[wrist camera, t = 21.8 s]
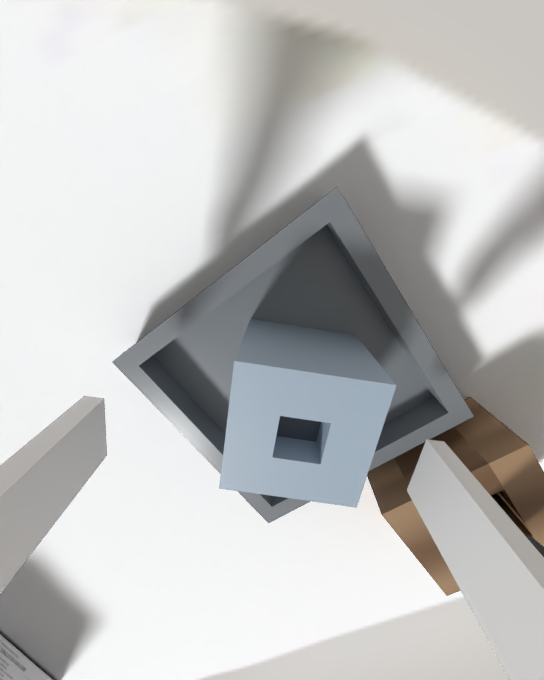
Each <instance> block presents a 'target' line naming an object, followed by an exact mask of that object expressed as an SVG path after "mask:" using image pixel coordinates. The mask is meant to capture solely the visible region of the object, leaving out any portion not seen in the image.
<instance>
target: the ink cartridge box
mask: <svg viewBox="0 0 544 680" xmlns="http://www.w3.org/2000/svg"><path fill="white" fill-rule="evenodd" d="M0 680H53V679H51V678H50V677H49V676H48V675H47V674H46V673H44V672H43V671H42V670H41V669H40V668H39V667H37V666H36V665H35V664H34V663H33V662H32V661H30V660H29V659H28V658H27V657H26V656H25V655H24V654H22V653H21V652H20V651H19V650H18V649H17V648H16V647H14V646H13V645H12V644H11V643H10V642H8V641H7V640H6V639H5V638H4V637H3V636H2V635H1V634H0Z"/></svg>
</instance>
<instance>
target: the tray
mask: <svg viewBox="0 0 544 680" xmlns="http://www.w3.org/2000/svg"><path fill="white" fill-rule="evenodd" d="M250 319H255V320H261V321H268V322H274V323H281V324H287V325H294V326H300V327H307V328H313V329H320V330H326V331H333V332H339V333H346V334H352V335H356V336H357V337H358V338H359V340H360V341H361V342H362V343H363V345H364V346H365V347H366V348H367V349H368V351H369V352H370V353H371V354H372V356H373V357H374V358H375V359H376V360H377V362H378V363H379V364H380V365H381V367H382V368H383V369H384V370H385V372H386V373H387V374H388V375H389V376H390V378H391V379H392V380H393V381H394V383H395V384H396V385H397V386H396V389H395V392H394V395H393V398H392V401H391V404H390V407H389V410H388V413H387V416H386V419H385V422H384V425H383V428H382V431H381V434H380V437H379V440H378V444H377V447H376V450H375V453H374V456H373V459H372V462H371V465H370V468H369V471H370V470H372V469H374V468H376V467H378V466H380V465H381V464H383V463H385V462H387V461H389V460H391V459H393V458H395V457H397V456H399V455H401V454H403V453H405V452H406V451H408V450H410V449H412V448H414V447H416V446H418V445H420V444H422V443H424V442H426V440H427V439H428V440H430V439H431V438H433V437H435V436H437V435H439V434H441V433H443V432H445V431H447V430H449V429H451V428H453V427H455V426H456V425H458V424H460V423H462V422H464V421H466V420H468V419H470V418H472V417H474V416H473V414H472V413H471V411H470V409H469V408H468V406H467V404H466V402H465V401H464V399H463V397H462V396H461V394H460V392H459V391H458V389H457V387H456V386H455V384H454V382H453V381H452V379H451V377H450V376H449V374H448V372H447V370H446V369H445V367H444V365H443V364H442V362H441V360H440V359H439V357H438V355H437V354H436V352H435V350H434V349H433V347H432V345H431V344H430V342H429V340H428V339H427V337H426V335H425V333H424V332H423V330H422V328H421V327H420V325H419V323H418V322H417V320H416V318H415V317H414V315H413V313H412V312H411V310H410V308H409V307H408V305H407V303H406V302H405V300H404V298H403V296H402V295H401V293H400V291H399V290H398V288H397V286H396V285H395V283H394V281H393V280H392V278H391V276H390V275H389V273H388V271H387V270H386V268H385V266H384V265H383V263H382V261H381V259H380V258H379V256H378V254H377V253H376V251H375V249H374V248H373V246H372V244H371V243H370V241H369V239H368V238H367V236H366V234H365V233H364V231H363V229H362V228H361V226H360V224H359V222H358V221H357V219H356V217H355V216H354V214H353V212H352V211H351V209H350V207H349V206H348V204H347V202H346V201H345V199H344V197H343V196H342V194H341V192H340V190H339V189H338V187H336V188H335V189H334V190H332V191H331V192H330V193H329V194H327V195H326V196H325V197H323V198H322V199H321V200H320V201H318V202H317V203H316V204H314V205H313V206H312V207H311V208H309V209H308V210H307V211H305V212H304V213H303V214H302V215H300V216H299V217H298V218H296V219H295V220H294V221H293V222H291V223H290V224H289V225H287V226H286V227H285V228H284V229H282V230H281V231H280V232H278V233H277V234H276V235H275V236H273V237H272V238H271V239H269V240H268V241H267V242H266V243H264V244H263V245H262V246H260V247H259V248H258V249H257V250H255V251H254V252H253V253H251V254H250V255H249V256H248V257H246V258H245V259H244V260H242V261H241V262H240V263H239V264H237V265H236V266H235V267H233V268H232V269H231V270H230V271H228V272H227V273H226V274H224V275H223V276H222V277H221V278H219V279H218V280H217V281H215V282H214V283H213V284H212V285H210V286H209V287H208V288H206V289H205V290H204V291H203V292H201V293H200V294H199V295H197V296H196V297H195V298H194V299H192V300H191V301H190V302H188V303H187V304H186V305H185V306H183V307H182V308H181V309H179V310H178V311H177V312H176V313H174V314H173V315H172V316H170V317H169V318H168V319H167V320H165V321H164V322H163V323H161V324H160V325H159V326H158V327H156V328H155V329H154V330H152V331H151V332H150V333H149V334H147V335H146V336H145V337H143V338H142V339H141V340H140V341H138V342H137V343H136V344H134V345H133V346H132V347H131V348H129V349H128V350H127V351H125V352H124V353H123V354H122V355H120V356H119V357H118V358H116V359H115V360H114V361H113V363H114V364H115V365H116V366H117V368H118V369H119V370H120V371H121V372H122V373H123V374H124V375H125V376H126V377H127V378H128V379H129V380H130V381H131V382H132V383H133V384H134V385H135V386H136V387H137V388H138V389H139V390H140V391H141V392H142V393H143V394H144V395H145V396H146V397H147V398H148V399H149V400H150V402H151V403H152V404H153V405H154V406H155V407H156V408H157V409H158V410H159V411H160V412H161V413H162V414H163V415H164V416H165V417H166V418H167V419H168V420H169V421H170V422H171V423H172V424H173V425H174V426H175V427H176V428H177V429H178V430H179V431H180V432H181V433H182V435H183V436H184V437H185V438H186V439H187V440H188V441H189V442H190V443H191V444H192V445H193V446H194V447H195V448H196V449H197V450H198V451H199V452H200V453H201V454H202V455H203V456H204V457H205V458H206V459H207V460H208V461H209V462H210V463H211V464H212V465H213V466H214V468H215V469H216V470H217V471H218V472H219V473H220V474H221V469H222V460H223V452H224V443H225V435H226V427H227V418H228V410H229V401H230V393H231V384H232V376H233V367H234V360H235V358H236V355H237V352H238V350H239V347H240V345H241V342H242V339H243V337H244V334H245V332H246V329H247V326H248V324H249V321H250ZM238 492H239V493H240V494H241V495H242V496H243V497H244V498H245V499H246V501H247V502H248V503H249V504H250V505H251V506H252V507H253V508H254V509H255V510H256V511H257V512H258V513H259V514H260V515H261V516H262V517H263V518H264V519H265V520H266V521H267V522H268V523H270V522H272V521H274V520H276V519H278V518H279V517H281V516H283V515H285V514H287V513H289V512H291V511H293V510H295V509H297V508H299V507H301V506H303V505H304V504H306V503H308V502H310V501H306V500H299V499H292V498H285V497H278V496H270V495H263V494H256V493H249V492H242V491H238Z"/></svg>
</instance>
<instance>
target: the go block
mask: <svg viewBox="0 0 544 680" xmlns="http://www.w3.org/2000/svg"><path fill="white" fill-rule="evenodd" d="M464 401H465V402H466V404H467V406H468V408H469V409H470V411H471V413H472V414H473V416H474V417H472V418H470V419H468V420H466V421H464V422H462V423H460V424H458V425H456V426H455V427H453V428H451V429H449V430H447V431H445V432H443V433H441V434H439V435H437V436H435V437H433V438H431V439H430V440H436V441H444V442H445V443H446V444H447V445H448V446H449V448H450V449H451V450H452V451H453V452H454V453H455V455H456V456H457V457H458V458H459V459H460V460H461V462H462V463H463V464H464V465H465V466H466V467H467V469H468V470H469V471H470V472H471V473H472V474H473V476H474V477H475V478H476V479H477V480H478V481H479V483H480V484H481V485H482V486H483V487H484V488H485V490H486V491H487V492H488V493H489V494H490V495H492V497H493V498H494V499H495V500H496V502H497V503H498V504H499V505H500V506H501V508H502V509H503V510H504V511H505V513H506V514H507V515H508V516H509V518H510V519H511V520H512V521H513V522H514V523H515V525H516V526H517V527H518V528H519V529H520V530H521V532H522V533H523V534H524V535H530V536H531V537H533V538H534V539H535V540H536V541H537V542H539V543H540V544H541V545H542V546H543V547H544V472H543V470H542V468H541V466H540V464H539V463H538V461H537V459H536V457H535V455H534V454H533V452H532V450H531V448H530V446H529V444H527V443H526V442H525V441H524V440H522V439H521V438H520V437H519V436H518V435H516V434H515V433H514V432H513V431H511V430H510V429H509V428H508V427H506V426H505V425H504V424H503V423H502V422H500V421H499V420H498V419H497V418H495V417H494V416H493V415H492V414H491V413H489V412H488V411H487V410H486V409H484V408H483V407H482V406H481V405H479V404H478V403H477V402H476V401H475V400H473V399H472V398H471V397H469V398H468V399H466V400H464ZM424 445H425V442H424V443H422V444H420V445H418V446H416V447H414V448H412V449H410V450H408V451H406V452H405V453H403V454H401V455H399V456H397V457H395V458H393V459H391V460H389V461H387V462H385V463H383V464H381V465H380V466H378V467H376V468H374V469H372V470H370V471H368V474H367V476H368V479H369V482H370V484H371V487H372V490H373V492H374V495H375V498H376V500H377V503H378V506H379V508H380V511H381V514H382V516H383V517H384V518H385V519H386V521H387V522H388V523H389V524H390V525H391V527H392V528H393V529H394V530H395V532H396V533H397V534H398V535H399V537H400V538H401V539H402V540H403V542H404V543H405V544H406V545H407V547H408V548H409V549H410V550H411V552H412V553H413V554H414V555H415V557H416V558H417V559H418V560H419V562H420V563H421V564H422V565H423V567H424V568H425V569H426V570H427V572H428V573H429V574H430V575H431V577H432V578H433V579H434V580H435V582H436V583H437V584H438V585H439V587H440V588H441V589H442V590H443V592H444V593H445V594H446V595H447V596H448V595H450V594H453V593H455V592H458V591H461V590H460V588H459V586H458V584H457V582H456V581H455V579H454V577H453V575H452V573H451V571H450V570H449V568H448V566H447V564H446V562H445V560H444V558H443V557H442V555H441V553H440V551H439V549H438V547H437V545H436V544H435V542H434V540H433V538H432V536H431V534H430V533H429V531H428V529H427V527H426V525H425V523H424V521H423V520H422V518H421V516H420V514H419V512H418V510H417V508H416V507H415V505H414V503H413V501H412V499H411V497H410V495H409V494H408V492H407V488H408V486H409V483H410V481H411V478H412V475H413V473H414V470H415V468H416V465H417V463H418V460H419V457H420V455H421V452H422V450H423V447H424Z"/></svg>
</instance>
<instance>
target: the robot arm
mask: <svg viewBox="0 0 544 680" xmlns="http://www.w3.org/2000/svg"><path fill="white" fill-rule="evenodd" d="M106 456H107V447H106V426H105V405H104V398H96V397H88V396H84V397H82V398H81V399H80V400H79V401H78V402H76V403H75V404H74V405H73V406H72V407H70V408H69V409H68V410H67V411H66V412H64V413H63V414H62V415H61V416H60V417H58V418H57V419H56V420H55V421H54V422H52V423H51V424H50V425H49V426H48V427H46V428H45V429H44V430H43V431H42V432H40V433H39V434H38V435H37V436H36V437H34V438H33V439H32V440H31V441H29V442H28V443H27V444H26V445H25V446H23V447H22V448H21V449H20V450H19V451H17V452H16V453H15V454H14V455H13V456H11V457H10V458H9V459H8V460H7V461H5V462H4V463H3V464H2V465H1V466H0V594H1V593H2V591H3V590H4V589H5V587H6V586H7V585H8V583H9V582H10V581H11V580H12V578H13V577H14V576H15V574H16V573H17V572H18V570H19V569H20V568H21V567H22V565H23V564H24V563H25V561H26V560H27V559H28V557H29V556H30V555H31V554H32V552H33V551H34V550H35V548H36V547H37V546H38V544H39V543H40V542H41V540H42V539H43V538H44V537H45V535H46V534H47V533H48V531H49V530H50V529H51V527H52V526H53V525H54V524H55V522H56V521H57V520H58V518H59V517H60V516H61V514H62V513H63V512H64V510H65V509H66V508H67V507H68V505H69V504H70V503H71V501H72V500H73V499H74V497H75V496H76V495H77V494H78V492H79V491H80V490H81V488H82V487H83V486H84V484H85V483H86V482H87V481H88V479H89V478H90V477H91V475H92V474H93V473H94V471H95V470H96V469H97V467H98V466H99V465H100V464H101V462H102V461H103V460H104V458H105V457H106ZM407 492H408V494H409V495H410V497H411V499H412V501H413V503H414V505H415V507H416V508H417V510H418V512H419V514H420V516H421V518H422V520H423V521H424V523H425V525H426V527H427V529H428V531H429V533H430V534H431V536H432V538H433V540H434V542H435V544H436V545H437V547H438V549H439V551H440V553H441V555H442V557H443V558H444V560H445V562H446V564H447V566H448V568H449V570H450V571H451V573H452V575H453V577H454V579H455V581H456V582H457V584H458V586H459V588H460V590H461V592H462V594H463V595H464V597H465V599H466V601H467V603H468V604H469V607H470V608H471V610H472V612H473V614H474V616H475V618H476V620H477V621H478V623H479V625H480V627H481V629H482V631H483V632H484V634H485V636H486V638H487V640H488V642H489V644H490V645H491V647H492V649H493V651H494V653H495V654H496V656H497V658H498V660H499V662H500V664H501V666H502V668H503V669H504V671H505V673H506V675H507V677H508V679H509V680H544V547H543V546H542V545H541V544H540V543H539V542H537V541H536V540H535V539H534V538H533V537H531V536H530V535H524V534H523V533H522V532H521V530H520V529H519V528H518V527H517V526H516V525H515V523H514V522H513V521H512V520H511V519H510V518H509V516H508V515H507V514H506V513H505V512H504V511H503V509H502V508H501V507H500V506H499V505H498V504H497V502H496V501H495V500H494V499H493V498H492V497H491V495H490V494H489V493H488V492H487V491H486V490H485V488H484V487H483V486H482V485H481V484H480V483H479V481H478V480H477V479H476V478H475V477H474V476H473V474H472V473H471V472H470V471H469V470H468V469H467V467H466V466H465V465H464V464H463V463H462V462H461V460H460V459H459V458H458V457H457V456H456V455H455V453H454V452H453V451H452V450H451V449H450V448H449V446H448V445H447V444H446V443H445V442H444V441H436V440H428V439H427V440H426V442H425V445H424V447H423V450H422V452H421V455H420V457H419V460H418V463H417V465H416V468H415V470H414V473H413V475H412V478H411V481H410V483H409V486H408V488H407Z"/></svg>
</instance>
